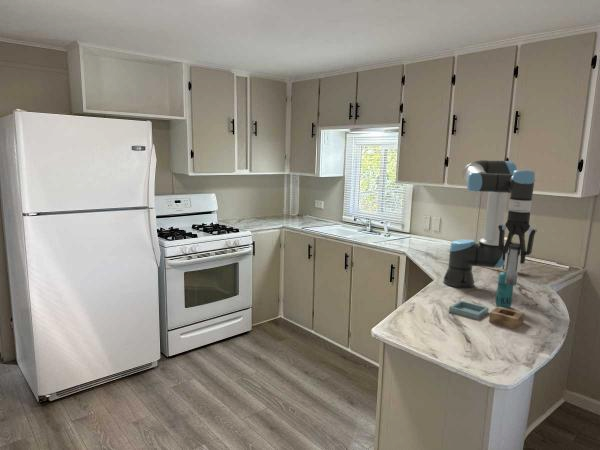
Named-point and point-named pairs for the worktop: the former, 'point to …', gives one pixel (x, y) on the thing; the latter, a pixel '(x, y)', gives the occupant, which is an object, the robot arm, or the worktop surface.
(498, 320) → the socket block
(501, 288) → the beverage bottle
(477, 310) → the tray
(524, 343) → the worktop surface
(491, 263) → the robot arm
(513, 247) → the steel pin
